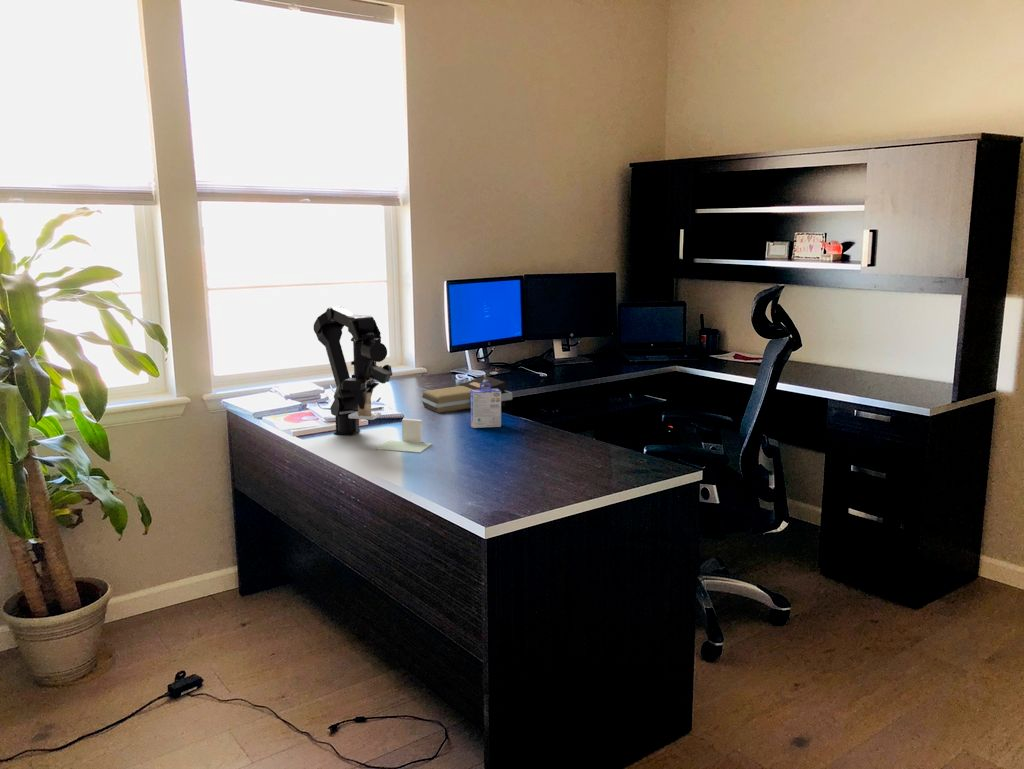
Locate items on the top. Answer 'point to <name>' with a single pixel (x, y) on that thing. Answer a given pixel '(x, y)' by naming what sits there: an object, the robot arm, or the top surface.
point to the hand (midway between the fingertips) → (364, 407)
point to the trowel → (365, 410)
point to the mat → (404, 446)
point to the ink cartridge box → (485, 407)
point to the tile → (412, 430)
